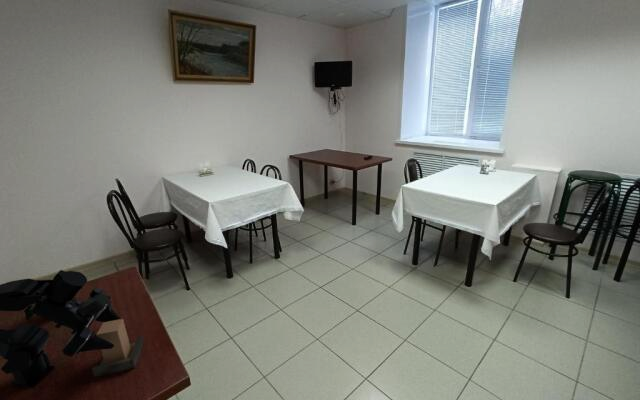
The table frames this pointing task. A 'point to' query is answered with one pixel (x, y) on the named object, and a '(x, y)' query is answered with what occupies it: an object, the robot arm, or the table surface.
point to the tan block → (115, 340)
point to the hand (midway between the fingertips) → (118, 335)
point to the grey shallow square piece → (120, 361)
